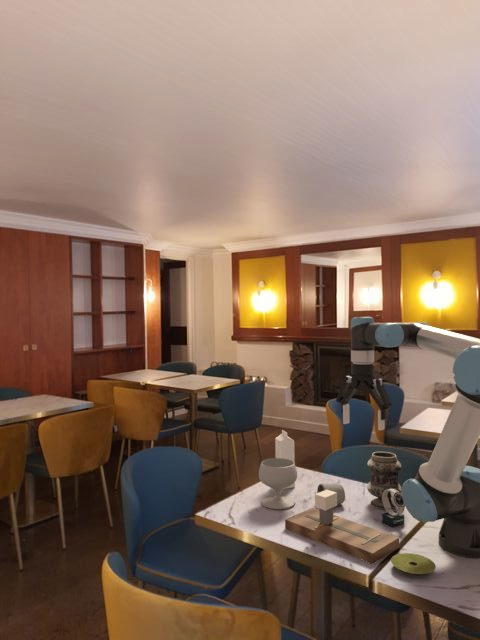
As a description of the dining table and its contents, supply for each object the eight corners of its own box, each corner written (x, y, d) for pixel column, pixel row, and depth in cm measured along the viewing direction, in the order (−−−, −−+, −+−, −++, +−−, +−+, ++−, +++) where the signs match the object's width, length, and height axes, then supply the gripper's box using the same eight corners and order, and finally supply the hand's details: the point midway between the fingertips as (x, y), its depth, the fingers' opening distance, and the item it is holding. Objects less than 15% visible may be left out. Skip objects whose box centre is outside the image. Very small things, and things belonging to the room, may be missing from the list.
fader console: (399, 547, 144) (399, 536, 144) (372, 564, 135) (372, 552, 135) (312, 516, 168) (312, 506, 168) (285, 528, 158) (285, 518, 158)
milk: (280, 489, 195) (279, 433, 195) (275, 484, 201) (274, 430, 200) (295, 487, 196) (294, 432, 196) (289, 482, 202) (288, 429, 202)
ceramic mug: (346, 507, 176) (346, 485, 176) (325, 509, 174) (325, 487, 174) (333, 497, 186) (333, 476, 186) (313, 499, 184) (312, 478, 184)
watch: (396, 530, 156) (396, 495, 156) (378, 521, 163) (377, 487, 163) (409, 526, 159) (408, 492, 159) (390, 517, 166) (390, 485, 166)
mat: (384, 560, 137) (384, 553, 137) (423, 558, 138) (423, 551, 138) (401, 582, 125) (401, 574, 125) (443, 579, 126) (443, 572, 126)
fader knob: (337, 521, 155) (337, 492, 155) (325, 526, 151) (325, 497, 151) (327, 517, 158) (326, 489, 158) (315, 523, 154) (314, 494, 154)
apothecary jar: (399, 499, 183) (399, 450, 183) (404, 511, 171) (404, 459, 171) (366, 497, 185) (365, 449, 185) (368, 509, 173) (368, 458, 173)
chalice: (251, 506, 177) (251, 464, 177) (271, 494, 189) (270, 455, 189) (286, 514, 170) (285, 470, 170) (304, 501, 181) (303, 460, 181)
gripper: (402, 364, 159) (403, 430, 159) (338, 360, 177) (339, 419, 177) (390, 366, 154) (391, 434, 154) (325, 361, 172) (326, 422, 172)
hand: (363, 426), depth 166 cm, fingers open, 13 cm apart
